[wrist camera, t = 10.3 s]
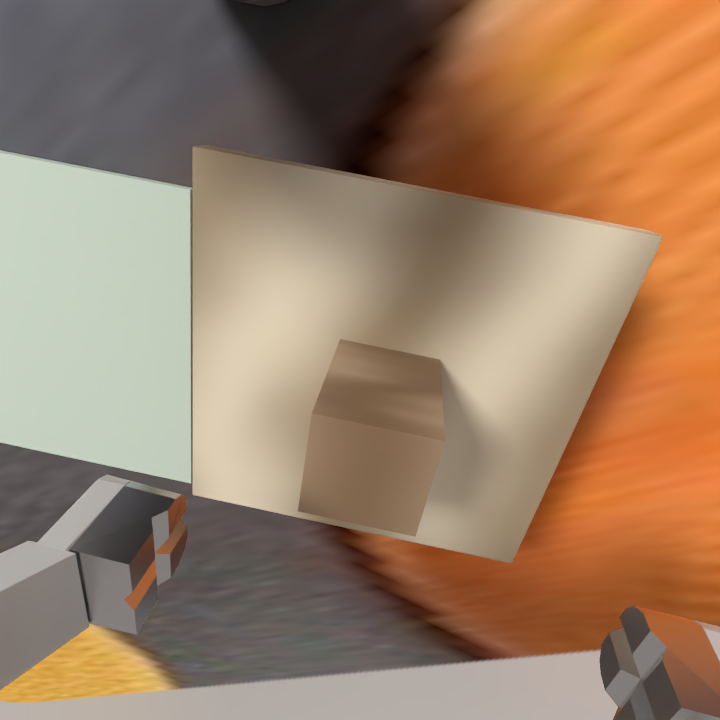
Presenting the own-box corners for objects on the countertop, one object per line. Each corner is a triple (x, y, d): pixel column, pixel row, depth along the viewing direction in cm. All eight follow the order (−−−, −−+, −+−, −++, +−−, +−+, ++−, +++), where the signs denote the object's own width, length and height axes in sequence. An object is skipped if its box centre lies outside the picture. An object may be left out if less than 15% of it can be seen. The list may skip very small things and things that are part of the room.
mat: (194, 188, 17) (190, 189, 17) (194, 477, 24) (190, 483, 23) (-118, 127, 18) (-128, 127, 17) (-34, 429, 24) (-41, 433, 24)
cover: (649, 230, 12) (767, 288, 8) (508, 545, 18) (534, 677, 14) (205, 145, 13) (96, 157, 9) (201, 480, 18) (134, 588, 14)
